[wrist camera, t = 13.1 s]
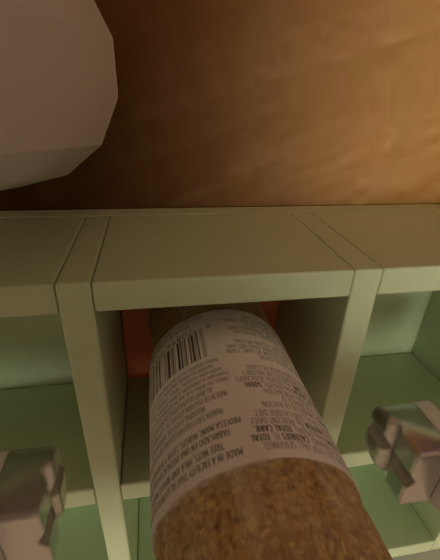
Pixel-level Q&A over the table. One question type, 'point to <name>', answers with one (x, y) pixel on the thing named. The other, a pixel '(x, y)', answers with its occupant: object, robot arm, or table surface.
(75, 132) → the salt shaker
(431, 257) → the rack
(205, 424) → the sprinkles bottle
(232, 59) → the table surface
